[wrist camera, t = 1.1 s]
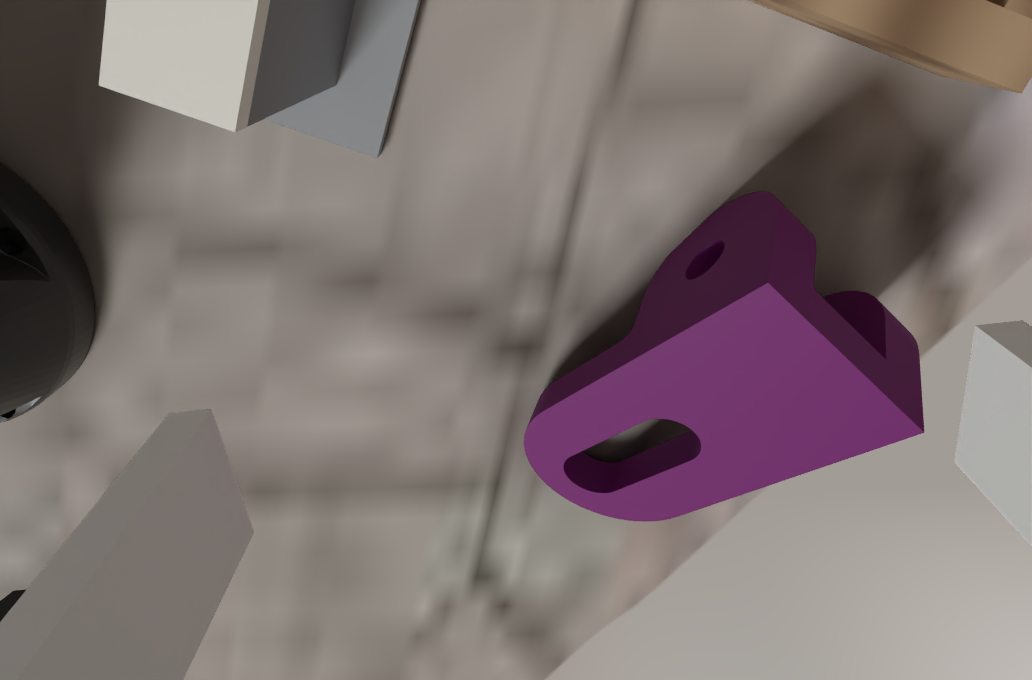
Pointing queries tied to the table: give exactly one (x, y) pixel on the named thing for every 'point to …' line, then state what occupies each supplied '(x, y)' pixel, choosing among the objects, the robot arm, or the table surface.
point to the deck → (360, 80)
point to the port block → (933, 34)
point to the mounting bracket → (730, 376)
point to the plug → (224, 54)
